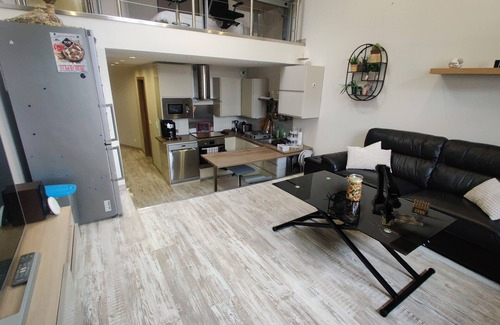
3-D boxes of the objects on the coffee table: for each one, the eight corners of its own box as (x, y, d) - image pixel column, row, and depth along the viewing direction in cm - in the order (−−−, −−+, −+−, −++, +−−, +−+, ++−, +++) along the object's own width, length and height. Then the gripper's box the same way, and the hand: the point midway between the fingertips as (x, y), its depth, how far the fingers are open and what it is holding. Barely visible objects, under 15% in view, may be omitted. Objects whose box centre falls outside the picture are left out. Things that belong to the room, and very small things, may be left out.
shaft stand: (394, 221, 181) (396, 214, 179) (392, 215, 190) (393, 209, 188) (422, 226, 175) (424, 219, 173) (418, 219, 184) (420, 213, 182)
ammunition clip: (411, 212, 196) (414, 198, 193) (412, 211, 197) (415, 197, 194) (427, 217, 188) (430, 203, 185) (427, 216, 190) (431, 202, 186)
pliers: (391, 238, 159) (364, 224, 175) (391, 239, 159) (364, 225, 175) (399, 234, 163) (372, 220, 180) (399, 235, 163) (372, 222, 180)
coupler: (381, 221, 180) (382, 214, 178) (389, 222, 178) (390, 216, 176) (382, 224, 175) (383, 218, 174) (390, 225, 173) (392, 219, 172)
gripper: (375, 195, 183) (372, 214, 187) (379, 205, 166) (375, 226, 170) (392, 198, 179) (388, 217, 184) (397, 208, 163) (393, 229, 167)
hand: (386, 222), depth 176 cm, fingers closed on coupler, 5 cm apart
